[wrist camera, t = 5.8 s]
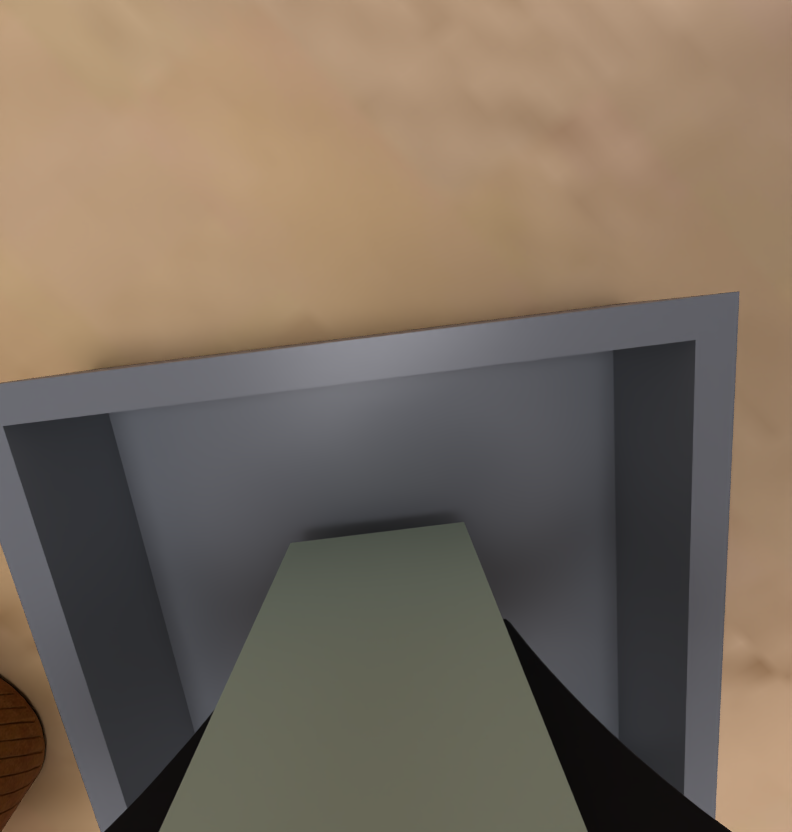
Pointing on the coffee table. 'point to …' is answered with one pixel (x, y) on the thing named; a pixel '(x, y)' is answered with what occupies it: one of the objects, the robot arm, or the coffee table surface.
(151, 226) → the coffee table surface
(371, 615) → the block
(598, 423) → the tray
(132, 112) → the coffee table surface
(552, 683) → the robot arm
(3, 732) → the disposable coffee cup
